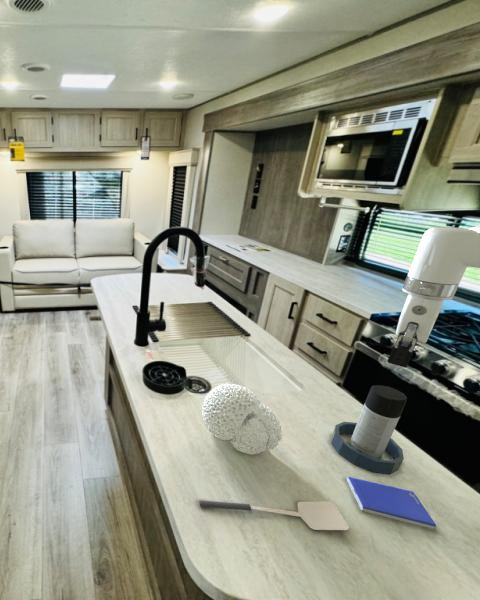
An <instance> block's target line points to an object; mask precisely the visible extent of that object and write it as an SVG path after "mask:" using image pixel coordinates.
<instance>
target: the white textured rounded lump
mask: <svg viewBox="0 0 480 600" xmlns="http://www.w3.org/2000/svg"><path fill="white" fill-rule="evenodd" d="M201 409H202V411H201V414H202V415H201V416H202V419H203V422H204V425H205V426H206V427H207V430H208V431H209V432H210V433H212V434H213V436H215V438H217V439H219V440H222V441H224V442H227V441H229V440H230V441H229V442H230V444H232V446H233V448H234V449H235V450H236V451H238V452H240V453H243V454H247V455H258V454H261V453H264V452H266V451H269V450H274V448H276V447H277V445H278V446H279V442H281V439H282V432H283V431H282V425H281V422H280V420H279V418H278V416H276V414H275V413H274V412H273V410H271V408H270V407H269V406H267V405H266V404H264V403H263V404H262V403H261V400H260V399H259V397H258V396H257V395H256V394H255V392H253V391H252V390H251V389H249V388H247V387H245V386H242V385H240V384H237V383H222V384H218V385H217V386H214V388H212V389H210V391H209V392H208V393H207V395H206V396H205V398H204V400H203V403H202V407H201Z"/></svg>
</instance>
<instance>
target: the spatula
mask: <svg viewBox="0 0 480 600" xmlns="http://www.w3.org/2000/svg"><path fill="white" fill-rule="evenodd" d="M199 506H200V507H201V508H211V509H212V508H213V509H225V510H226V509H227V510H240V511H252V510H254V511H261V512H267V513H273V514H279V515H285V516H290V517H291V516H292V517H298V518H300V519H302V520H303V522H304V523H305V524H306V525H307V526H308V527H309V528H310V529H312V530H313V531H348V530H349V529H350V526H349V525H348V523H347V521H346V520H345V518H344V517H343V515H342V514H341V512H340V511H339V508H337V505H336V504H335V503H334V502H333V501H298V502H297V505H296V506H297V511H293V510H285V509H277V508H270V507H262V506H255V505H250V503H240V502H227V501H213V500H211V501H210V500H199Z"/></svg>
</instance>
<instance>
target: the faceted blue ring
mask: <svg viewBox="0 0 480 600" xmlns="http://www.w3.org/2000/svg"><path fill="white" fill-rule="evenodd" d="M356 425H357V422H352V421H342V422H340V423H337V424H335V426H334V429H333V431H332V434H331V441H330V444H331V446H332V447H333V449H334V450H335V451H336V452H337V454H338V455H339V456H340V457H341V458H343V459H344V460H346V461H347V462H349V463H350V464H352V465H353V466H354V467H357V468H360V469H362V470H364V471H366V472H369V473H371V474H377V475H387V476H390V475H392V474H394V473H396V472H398V471H399V470H400V468H401V466H402V464H403V461H404V460H405V458H404V451H403V448H402V447H400V445H399V444H398V443H397V442H396V441H395V440H394V439H393V438H392V437H391V438H390V440H389V442H388V445H387V447H386V449H385V451H384V452H385V453H386V454H387V455H388V456H389V457H390V458H391V459H392V460H390V459H383V458H381V459H376V458H373V457H370V456H368V455H365V454H363V453H360V452H359V451H357V450H356V449H354V448H353V447H351V446H350V445H349V443H347V442H346V441H345V439H344V438H343V437H342V435H345V436H352V435H353V432H354V430H355V427H356Z"/></svg>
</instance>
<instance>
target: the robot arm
mask: <svg viewBox="0 0 480 600" xmlns="http://www.w3.org/2000/svg"><path fill="white" fill-rule="evenodd" d="M470 267H471V268H477V269H480V224H479V225H476V226H473V227H470V228H464V227H463V228H462V227H453V226H452V227H451V226H438V227H431V228H428V229H427V230H425V231H424V233H423V234H422V236H421V239H420V241H419V243H418V246H417V250H416V252H415V254H414V257H413V259H412V262H411V265H410V267H409V270H408V273H407V275H406V278H405V281H404V282H403V285H402V288H401V291H402V292H403V293H405V294H408V295H407V296H406V299H405V302H404V304H403V307H402V310H401V313H400V316H399V318H398V322H397V325H396V331H395V336H396V337H397V339H396V341H395V343H394V345H392V348H391V350H390V354H389V356H388V358H387V361H386V362H387V363H388V364H392V365H395V366H398V367H402V368H404V369H405V368H408V366H409V363H410V361H411V359H412V356H413V354H414V350H415V348H416V345H417V344H418V342H420V343H421V344H426V343H427V342H428V339H429V337H430V334H431V333H432V331H433V329H434V325H435V323H436V321H437V319H438V317H439V314H440V312H441V310H442V306H443V304H444V301H449V300H450V301H451V300H453V299H454V296H455V294H456V292H457V290H458V287H459V285H460V283H461V280H462V279H463V276H464V275H465V272H466V270H467V268H470Z"/></svg>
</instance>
